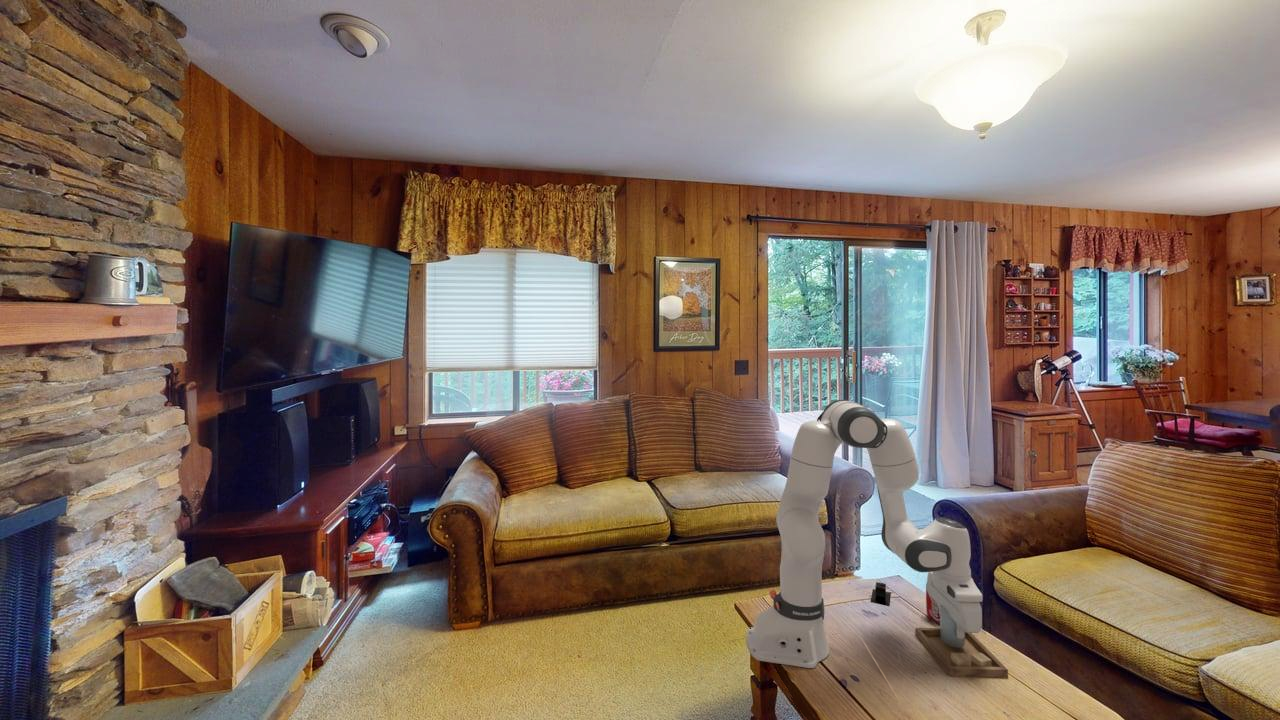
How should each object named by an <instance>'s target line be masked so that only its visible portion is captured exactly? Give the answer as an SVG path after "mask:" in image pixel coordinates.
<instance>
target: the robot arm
mask: <svg viewBox="0 0 1280 720" xmlns="http://www.w3.org/2000/svg"><path fill="white" fill-rule="evenodd" d="M843 443H844V444H846V445H848V446H850V447H852V448H859V449H866V450H867V452H868V456H869V460H870V464H871V468H872V471H873V474H874V478H875V481H876V487H877V493H878V498H879V503H880V509H881V513H882V527H881V535H880V536H881V541H882V543H883V545H884V546H885V547H886V549H888V550H889V551H890V552H891V553H893V554H894V555H896V556H897V557H898V558H899V559H900V560H901V561H902V562H903V563H905V564H906V565H907V566H908V567H910V569H912V570H914V571H915V572H919V573H927V577H926V578H927V579H926V583H927V592H928V594H929V595H930V596H931V597H932V598H933V599H934V600H935V601H936V602H937V603H938V609H939V612H940V605H942V606H943V607H944V608H945V609H946V610H947V611H948V612H949V615H950V617H951V618H952V619H953V620H954V621H955V622H956V625H957V629H954V631H955V633H954V634H955V635H956V636H957V637H958V638H964V637H965V632H966V633H972V634H979V633H980V632H981V631H982V626H983V610H982V605H981V602H983V599H984V598H983V593H982V592H981V591H980V589H979V588H978V587H977V585H976V583H975V582H974V579H973V578H972V570H971V567H970V560H971V558H972V557H971V555H972V554H971V552H972V551H971V540H970V539H971V538H970V535H969V531H968V529H967V527H965V526H964V525H963V524H961V523H960V522H958V521H956V520H953V519H950V518H946V517H936V518H934V520H933V521H932V522H931V524H929V525H927V526H926V527H924V528H920V529H919V528H917V526H915V525H914V524H913V523H912V521H911V520H910V518H909V516H908V515H907V509H906V508H907V507H906V502H905V499H904V491H907V490H909V489H911V488H913V487H914V486H915V485H916V484H917V483H918V481H919V474H920V473H919V472H920V471H919V466H918V465H919V464H918V461H917V458H916V453H915V450H914V447H913V444H912V442H911V440H910V437H909V434H908V433H907V431H906V429H905V427H904V425H903V423H901V422H900V421H898V420H896V419H893V418H880V417H879V416H878V415H877V414H876V413H875V412H873V411H872V410H871V409H868V408H866V407H865V406H864V405H861V404H860V403H858V402H855V401H852V400H851V401H850V400H848V399H837V400H834V401H832V402H830V403H829V404H827V406H826V407H825V408H824V409H823V411H822V413H820V415H819V416H818V417H817V419H816V420H808V421H805V422H804V423H802V424H801V425H800V427H799V428H798V431H797V434H796V435H795V439H794V443H793V446H792V449H791V454H790V460H789V461H790V462H789V465H788V471H787V475H786V482H785V485H784V489H783V492H782V495H781V498H780V501H779V504H778V509H777V512H776V521H775V522H776V525H777V528H778V531H779V534H780V540H781V541H780V542H781V554H780V555H781V556H780V564H779V582H780V583H779V584H780V588H779V589H780V590H779V592H778V593H777V591H776V590H775V589H771V590H770V591H769V596H770V598H771V600H772V602H773V603H772V604H773V605H771V606H769V607H768V608H766V609H765V610H763V611H762V612H760V613H758V614H757V615H756V618H755V621H754V625H753V627H752V626H751V627H749V628H748V629H747V631H746V635H745V641H746V644H745V645H746V646H747V650H748V652H749V653H750V655H751V657H752V658H754V659H755V660H756V661H761V662H767V663H772V664H781V665H786V666H794V667H798V668H799V667H800V668H806V669H814V668H816V667H817V665H818V663H819V662H821V661H823V660H825V659H826V658H827V657H828V656H829V654H830V646H829V643H828V639H827V636H826V631H825V629H826V628H825V625H824V624H825V623H824V620H825V602H824V598H823V590H822V589H823V588H822V587H823V585H822V583H823V582H822V581H823V580H822V573H823V572H822V571H823V570H822V569H823V564H824V556H825V555H824V554H825V552H826V535H825V532H824V529H823V528H822V525H821V523H820V521H819V514H820V513H819V512H820V510H821V507H822V505H823V502H824V500H825V498H826V496H828V493H829V488H830V483H831V477H832V473H833V466H834V461H835V454H836V452H837V450H838V448H839V447H840V445H842V444H843ZM750 628H751V629H750Z"/></svg>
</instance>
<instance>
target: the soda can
mask: <svg viewBox="0 0 1280 720" xmlns="http://www.w3.org/2000/svg"><path fill="white" fill-rule="evenodd" d="M925 604H926V605H925V609H926V616H927V617H928V619H929V620H931V621H932V622H933V623H937V624H940V612H939V609H938V603H937V602H936V601H935V600H934V599H933V598H932V597H931V596H930V595H929V594H928V592H927V582H926V585H925Z"/></svg>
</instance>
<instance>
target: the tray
mask: <svg viewBox="0 0 1280 720" xmlns="http://www.w3.org/2000/svg"><path fill="white" fill-rule="evenodd" d="M915 636H916V637H917V638H918V639H919V641H920V642H921V643H922V644H923V646H924V647H925V649H926V650H927V651H928V652H929V653H930V655H931V657H932V658H934V660H935V661H936V662H937V664H938V665H939V666H940V667H941V668H942V670H943V671H944V673H946V675H947V676H948V677H967V678H968V677H969V678H970V677H971V678H973V677H974V678H975V677H977V678H1009V670H1008V668H1006V666H1005V665H1004V664H1003V663H1002V662H1001V661H1000V660H999V659H998V658H997V657H995V655H994V654H993V653H992V652H990V650H989V649H988V648H987V647H986V646H985V645H984V644H983V643H982V642H981V641H980V640H979V639H978V638H977V637H976V635H974V633H966V632H965V646H963V647H952V646H949V645H947V644H945V643H944V642H942V640H941V638H940V627H933V628H932V627H915ZM951 653H964V654H965V656H966V657H967V658H968V659H969V660H970V666H952V665H951ZM976 653H982V654H984V655H985V656H986V657H988V658H989V659H991V666H992V667H979V666H971V654H976Z"/></svg>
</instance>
